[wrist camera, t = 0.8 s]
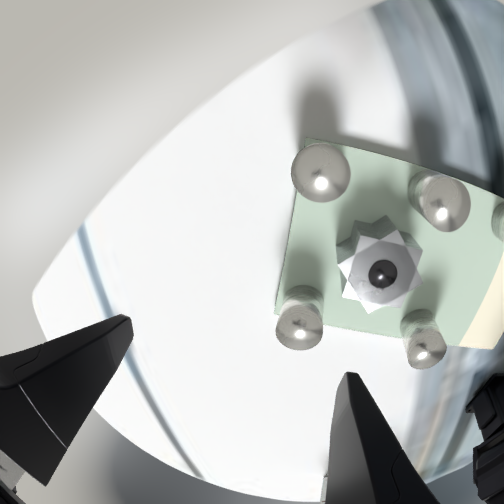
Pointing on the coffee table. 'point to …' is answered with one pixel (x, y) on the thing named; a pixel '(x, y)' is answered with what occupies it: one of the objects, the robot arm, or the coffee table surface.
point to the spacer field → (421, 199)
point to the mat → (430, 265)
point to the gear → (378, 264)
